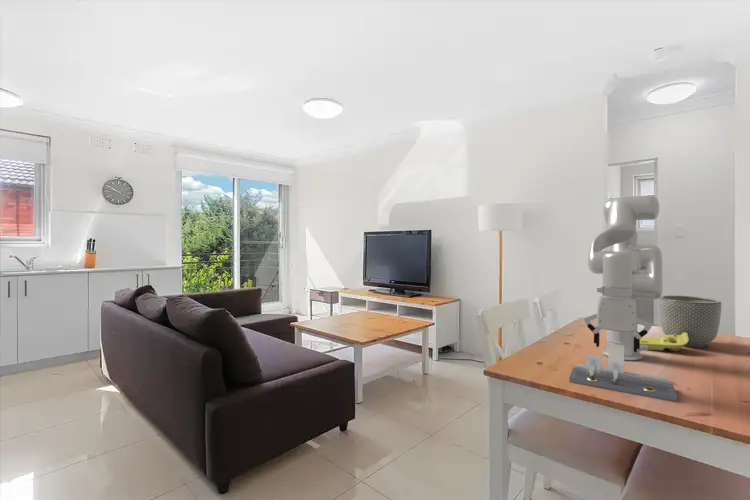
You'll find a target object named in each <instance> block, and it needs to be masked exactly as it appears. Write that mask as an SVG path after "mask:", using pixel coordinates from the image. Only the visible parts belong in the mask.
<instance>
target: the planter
mask: <svg viewBox="0 0 750 500" xmlns="http://www.w3.org/2000/svg"><path fill="white" fill-rule="evenodd" d="M658 306H659V307H658V308H659V323H660V326H661V327H660V328H661V329H662V332H663V334H664V336H665V335H674V334H676V335H681V334H683V333H687V335H688V338H689V340H688V343H687V344H686V345H685V346H683V347H685V348H692V349H702V348H705V347H706V346H707V344H709V343H712V342H713V341H714V340H716V338H717V336H718V333H719V329H720V324H721V314H722V307H723V306H722V301H721V300H719V299H715V298H710V297H709V298H708V297H704V296H703V297H702V296H693V295H678V294H677V295H676V294H675V295H668V294H667V295H661V296H660V298H658Z"/></svg>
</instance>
